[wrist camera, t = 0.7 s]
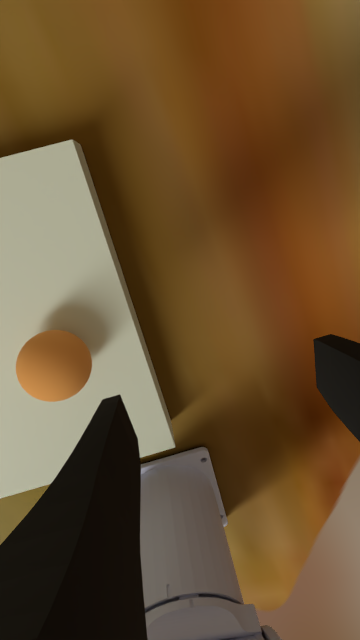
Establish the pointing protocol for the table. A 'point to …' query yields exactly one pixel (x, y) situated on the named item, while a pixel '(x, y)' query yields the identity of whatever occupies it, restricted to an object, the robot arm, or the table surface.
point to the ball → (53, 365)
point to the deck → (65, 315)
